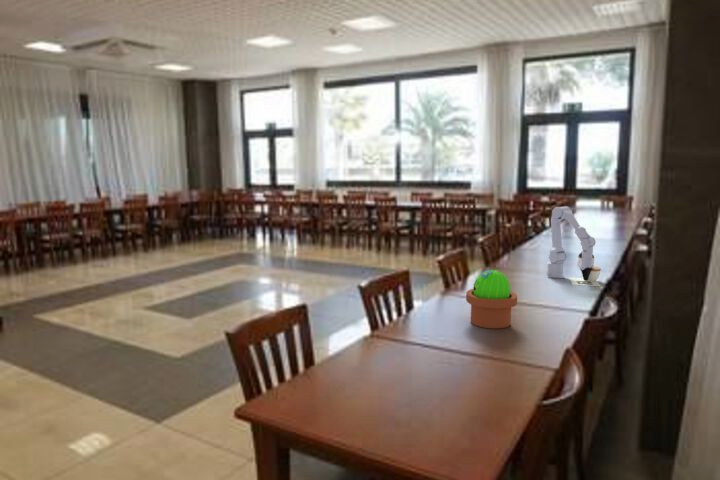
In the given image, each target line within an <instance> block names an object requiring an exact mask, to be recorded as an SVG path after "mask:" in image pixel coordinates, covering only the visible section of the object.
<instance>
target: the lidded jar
mask: <svg viewBox="0 0 720 480" xmlns="http://www.w3.org/2000/svg"><path fill="white" fill-rule="evenodd" d="M589 268H592V271H591V272H590V275H589V278H588V280H586V281H598V279H599V278H600V275H601V270H602V269H601V267H598V266H594V267H589ZM581 277H583V274H582V273H581Z"/></svg>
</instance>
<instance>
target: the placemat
mask: <svg viewBox="0 0 720 480" xmlns="http://www.w3.org/2000/svg"><path fill="white" fill-rule="evenodd" d="M568 279H569V281H570V282H571V284H572V285H573V286H584V287H585V286H587V287H602V286H601V284H600V283H599V281H598V280H596V281H586V280H584V279H583V277H568Z"/></svg>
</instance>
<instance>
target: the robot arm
mask: <svg viewBox="0 0 720 480" xmlns="http://www.w3.org/2000/svg"><path fill="white" fill-rule="evenodd" d="M563 220H565V221H568V223H569V224H570V225H571V227H572V228H574V229H573V230H574V233H575V235H576V237H577V238H578V239H579V241H580V246H581V250H582V263H581V266H580V268H579V270H580V272H581V275H582V274H583V276H582V278H583V279H584V280H588V278H589V275H590V272H591V271H592V268H589V267H595V265H593V263H592V256H593V255H594V253H593V252H594V247H595V245H596V239H595V238H594V237H592V236H591V234H589V232H587V230H586V228H585V227H584V226H581V225H580V224H579V222H578V220H577V218H576V217H575V216H574V214H573V210H572V209H571V208H570V207H569V206H565V205H564V206H556V207H554V208H553V209H552V210H551V217H550V230H551V241H552V243H551V244H552V248H551V249H550V250H549V255H548V259H549V262H547V267H546V276H547V278H555V279H556V278H558V279H559V278H560V279H565V275H563V273H564V263H565V260H567V253H566V252H565V251H566V250H565V249H564V247H563V243H562V230H561V227H562V226H561V222H562V221H563Z"/></svg>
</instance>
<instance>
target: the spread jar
mask: <svg viewBox="0 0 720 480" xmlns="http://www.w3.org/2000/svg"><path fill="white" fill-rule="evenodd" d="M580 251H581V252H580V253H579V254H578V256H577V262H576V263H577V267H578V268H579V269H580V266H581V263H582V249H581V250H580ZM592 263H593V266H595V256H594V254H593V256H592Z"/></svg>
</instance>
